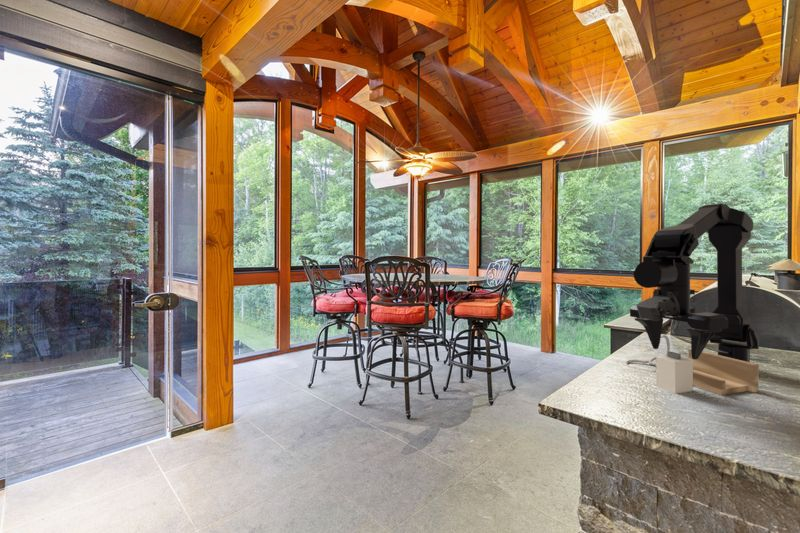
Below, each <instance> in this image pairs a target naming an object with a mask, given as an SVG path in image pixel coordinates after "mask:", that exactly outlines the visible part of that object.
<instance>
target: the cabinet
mask: <svg viewBox="0 0 800 533" xmlns="http://www.w3.org/2000/svg"><path fill="white" fill-rule="evenodd" d="M656 356H657V357H656V359H655V360H656V361H655V363H656V367H655V368H656V369H655V370H656V372H655V374H656V376H655V377H656V378H655V379H656V381H655V382H656V383H655V385H656V386H655V387H657V388H659V389H661V390H665V391H667V392H670V393H673V394H681V393H688V392H693V391H694V386H693V360H692V359H689V357H688V358H687V357H683V356H682V354H681V353H677V352H675V351H670V350H669V352H668V355H666V356H664V355H656Z"/></svg>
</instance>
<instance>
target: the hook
mask: <svg viewBox="0 0 800 533" xmlns="http://www.w3.org/2000/svg"><path fill="white" fill-rule="evenodd" d="M662 338H664V339H665V342H666V346H665V348H666V350H665V353H664V355H663V356H666V355H668V352H670V350H671V346H670V345H671V342H670V339H669V337H668V335H665V334H661V338H660V339H662ZM657 356H658V355H655V356H652V357H650V358H649V359H647V360H645V359H639V358H638V359H636V358H635V359H634V358H633V359H632V358H631V359H627V360H625V361H624V362H623V365H624V366H626V367H628V368H632V369H636V370H637V369H638V370H640V369H641V371H645V372H650V371H651V372H652V373H656V369H646V368H643V367H642V368H641V367H636V366H633V365H629V364H630V363H640V364H649V365H650V366H656V361H655V360H656V357H657ZM654 361H655V362H654Z"/></svg>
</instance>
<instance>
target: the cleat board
mask: <svg viewBox="0 0 800 533" xmlns="http://www.w3.org/2000/svg"><path fill="white" fill-rule="evenodd" d="M688 359H692V354H691V348H689V349H688ZM692 360H693V387H696V388H699V389H702V390H705V391H707V392H711V393H714V394H717V395H719V396H725V395H729V394H735V393H736V394H737V393H743V392H749V393H759V385H760V384H759V380H760V379H759V375H760V374H759V369H760V368H759V365H760V364H758V363H755V362H754V363H753V362H751V361H750V362H746V361H742V360H738V359H734V358H729V357H725V356H721V355H718V353H717V354H716V353H714V352H712V353H711V352H707V351H704V350H703V351H702V353H701V354H700V356H699V358H698V359H695V360H694V359H692Z"/></svg>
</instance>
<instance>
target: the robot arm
mask: <svg viewBox="0 0 800 533" xmlns="http://www.w3.org/2000/svg"><path fill="white" fill-rule="evenodd" d="M753 229H754V222H753V218H752V217H750V216H749V215H748V214H747V213H746V212H745V211H743V210H740V209H736V208H733V207H730V206H729V205H728V204H726V203H723V202H722V203H714V204H712V203H711V204H703V205H702V206H700V207H699V208H698V210H697V211H695V212H694V213H692V214H691V215H690V216H688V217H687V218H685V219H684V220H683V221H681V222H679V223H678V224H677V225H673V226H667V227H664V228H661V229H659V230H656V232H655V233H654V234H653V236H652V238H651V240H650V242H649V245H648V247H647V249H646V252H645V254H644V256H642V262H640V263H638V264H637V265H636V267H635V268H634V271H633V278H634V281H635V282H636V284H637V285H638V286H640V287H642V288H645V289H650V288H654V289H653V292H652V294H653V295H652V297H649V298H646V299H645V300H643V301H641V302H638V303H637V304H632V306H631V307H630V308H629V317H632V318H634V319H633V320H635V321H637V322H638V323H639V324H640V325H642V326H643V328H644V329H645V332H646V334H647V337H648V339H649V341H650V344H651V346H652V348H653V349H654V350H658V349H659V347H660V344H661V339H662V338H661V336H662V333H663V332H662V330H663V324H664V319H665V320H666V319H667V320H673V321H677V322H678V321H679V322H683V323H687V325H688V326H689V328H686V331H687V332H688V333H689V335H690V345H691V347H690V349H691V354H692V359H694V360H695V359H698V358H699V356H700V354H701V353H702V351H704V350H705V348H706V346H707V345H708V343H711V344H717V345H718V346H717V347H718V348H717V349H718V350H717V355H721V356H725V357H729V358H734V359H738V360H742V361H746V362H750V363H751V361H750V360H751V356H750V355H751V353H750V352H751V350H759V349H760V345H761V342H760V341H761V338H760V336H759V334H758V333H757V330H756V328H755V327H754V326H753V322H752V317H751V315H750V314H749V313H748V312H747V310H746V309H745V308H744V306H743V249H744V247H745V246H746V245H747V243H749V241H750V240H751V235H752V231H753ZM705 233H706V234H707V236H708V241H709V242H710V244H711V245H712V246H713V247H714V248H715V250H716V269H717V270H716V273H717V274H716V275H717V276H716V280H717V281H716V282H717V283H716V286H717V306H716V307H715V308H714V310H713V311H712V312H708V311H706V312H696V311H695V310H696V308H695V307H691V295H695V293H696V291H695V290H696V289H691V265H693V264H694V262H695V261H694V260H693V258H691V255H692V253H693V252H694V251H695V250H696V249H697V247H698V246H699V240H698V239H699V238H701V237H702V236H703V235H704V234H705ZM695 312H696V313H695Z"/></svg>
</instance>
